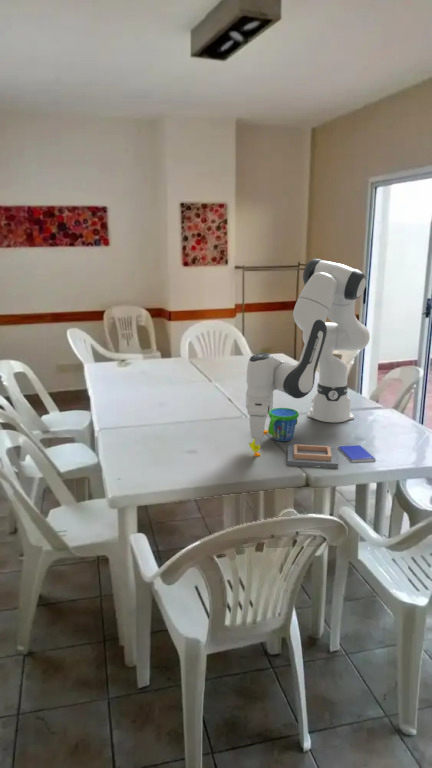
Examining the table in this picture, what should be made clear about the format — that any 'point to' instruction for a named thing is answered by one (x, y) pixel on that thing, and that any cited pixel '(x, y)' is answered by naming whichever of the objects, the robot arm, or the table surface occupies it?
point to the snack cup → (282, 423)
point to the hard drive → (356, 453)
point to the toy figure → (256, 447)
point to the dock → (312, 456)
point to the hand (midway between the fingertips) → (258, 442)
